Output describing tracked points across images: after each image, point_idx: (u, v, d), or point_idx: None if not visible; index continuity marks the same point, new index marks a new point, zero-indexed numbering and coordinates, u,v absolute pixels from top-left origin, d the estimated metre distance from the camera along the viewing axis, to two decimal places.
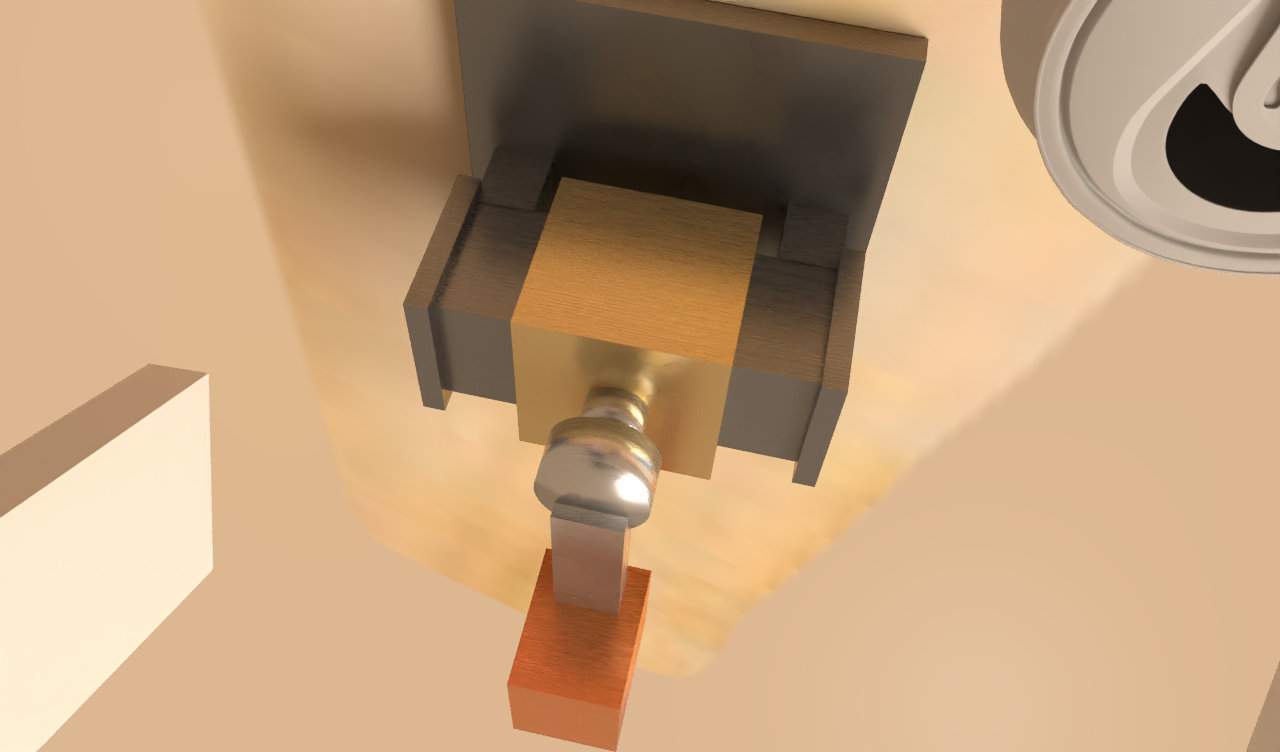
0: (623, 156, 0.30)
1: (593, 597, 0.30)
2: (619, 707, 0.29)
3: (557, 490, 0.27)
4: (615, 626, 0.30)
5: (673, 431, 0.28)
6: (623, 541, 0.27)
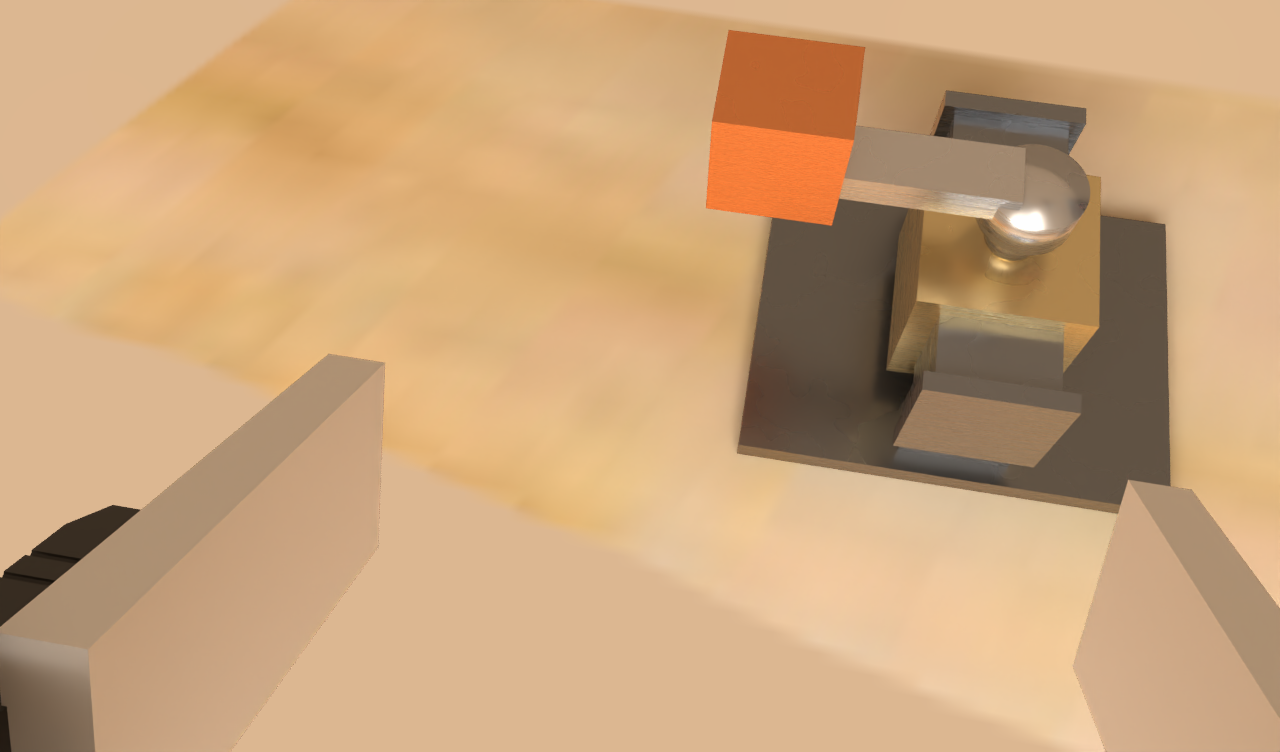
0: None
1: (874, 160, 0.31)
2: (853, 141, 0.29)
3: (1043, 162, 0.32)
4: None
5: (988, 277, 0.33)
6: (1007, 199, 0.31)
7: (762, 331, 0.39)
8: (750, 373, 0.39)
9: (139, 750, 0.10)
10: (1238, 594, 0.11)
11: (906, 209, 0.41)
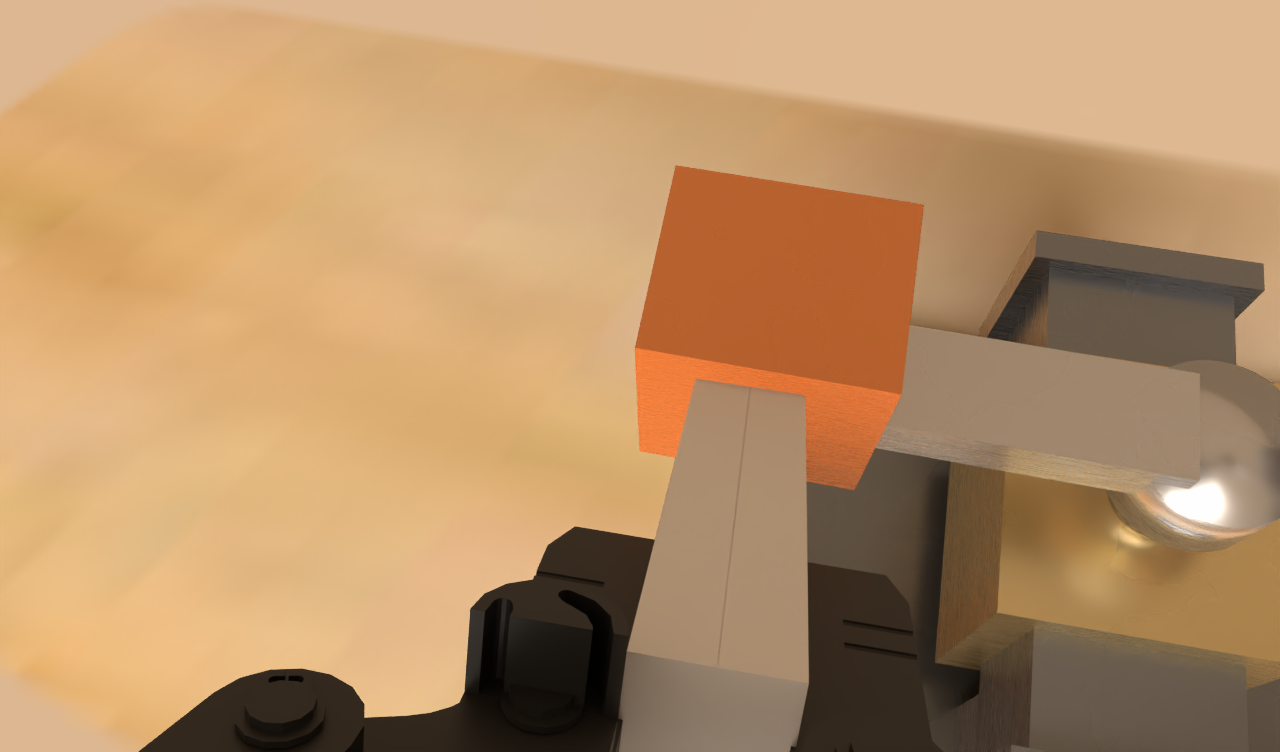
0: None
1: (932, 391, 0.18)
2: (900, 394, 0.15)
3: (1228, 394, 0.18)
4: None
5: (1117, 569, 0.20)
6: (1170, 474, 0.17)
7: None
8: None
9: None
10: (776, 470, 0.13)
11: None
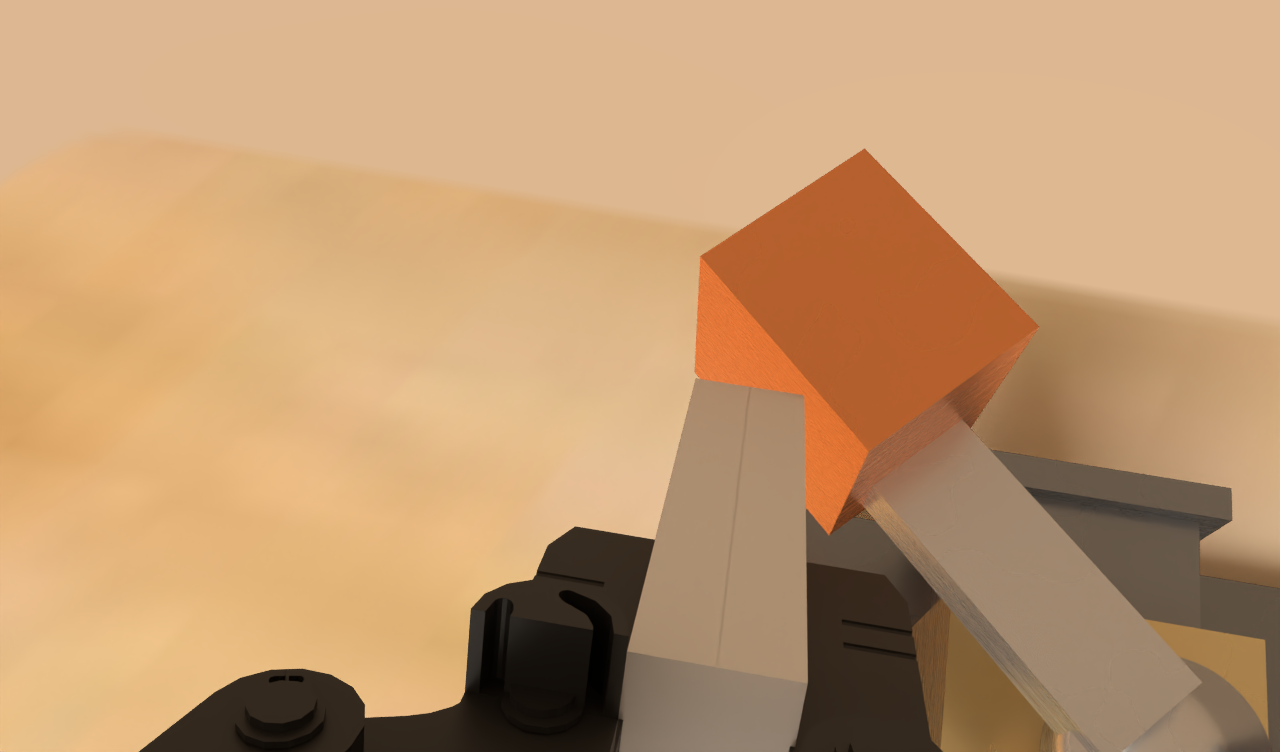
0: None
1: (945, 501, 0.17)
2: (869, 451, 0.15)
3: (1219, 726, 0.16)
4: (876, 478, 0.17)
5: None
6: (1087, 734, 0.16)
7: None
8: None
9: None
10: (775, 470, 0.13)
11: None
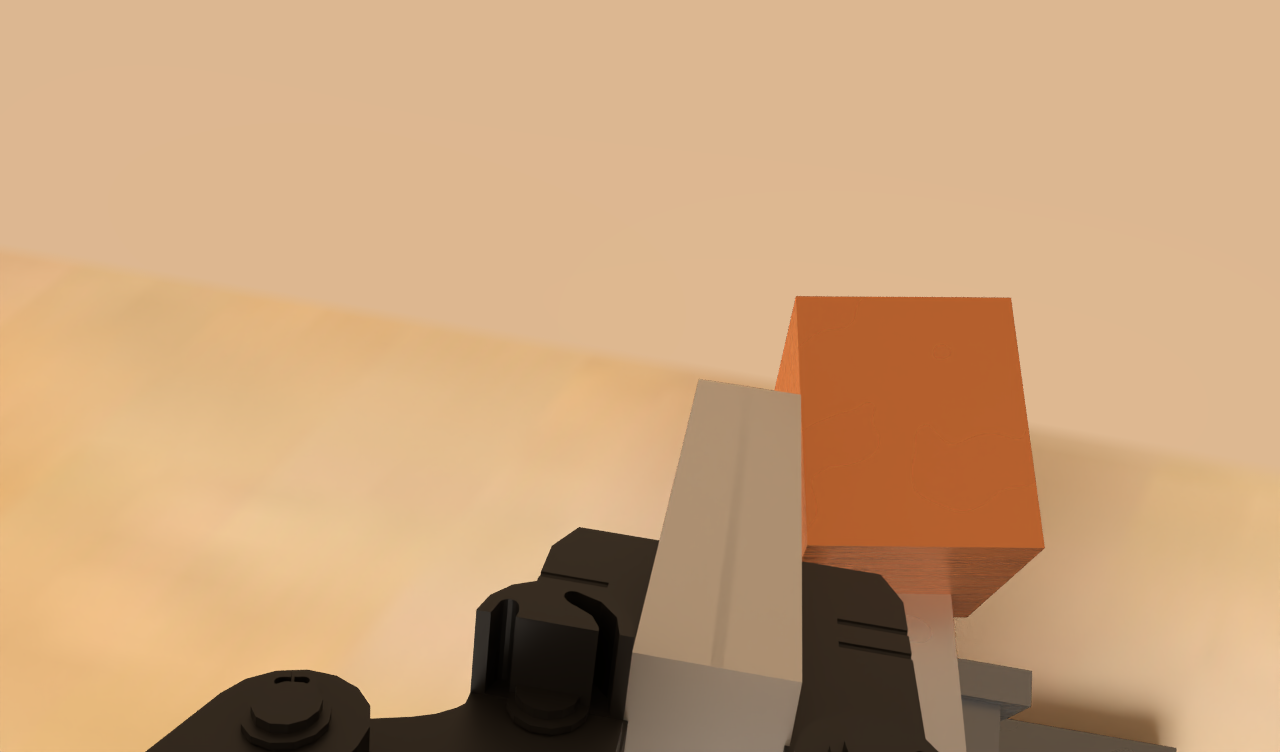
0: None
1: None
2: (808, 546, 0.14)
3: None
4: None
5: None
6: None
7: None
8: None
9: None
10: (771, 470, 0.13)
11: None
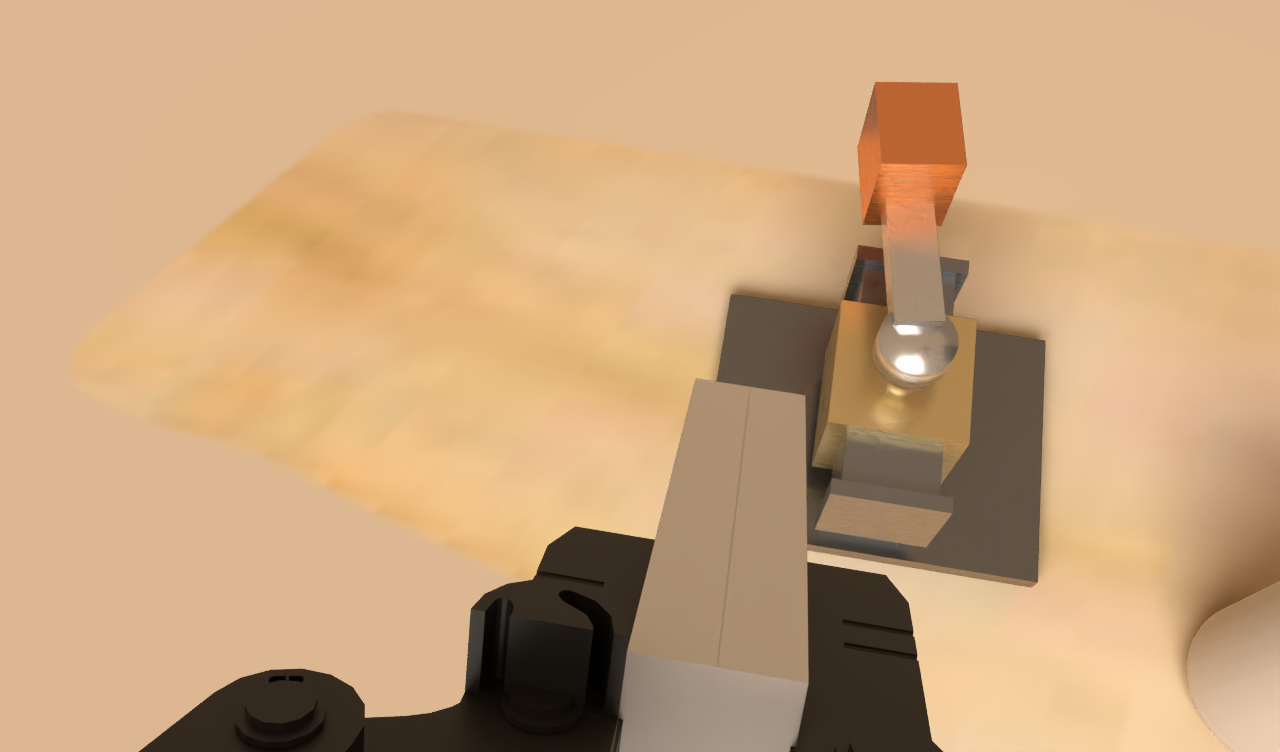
0: None
1: (906, 222, 0.42)
2: (881, 164, 0.40)
3: (942, 341, 0.40)
4: (887, 198, 0.42)
5: (884, 402, 0.42)
6: (894, 309, 0.40)
7: None
8: None
9: None
10: (775, 470, 0.13)
11: (834, 327, 0.50)
